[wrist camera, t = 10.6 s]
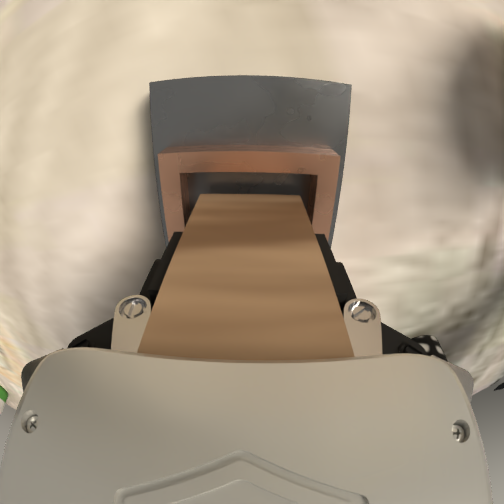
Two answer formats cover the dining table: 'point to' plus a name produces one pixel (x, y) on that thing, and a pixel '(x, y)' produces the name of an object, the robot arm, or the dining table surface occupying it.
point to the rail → (249, 142)
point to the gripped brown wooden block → (247, 286)
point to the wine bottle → (2, 398)
